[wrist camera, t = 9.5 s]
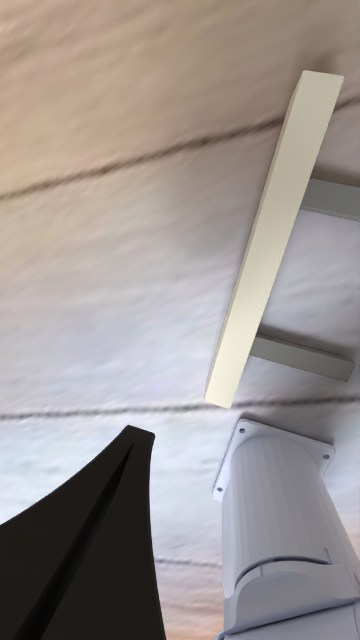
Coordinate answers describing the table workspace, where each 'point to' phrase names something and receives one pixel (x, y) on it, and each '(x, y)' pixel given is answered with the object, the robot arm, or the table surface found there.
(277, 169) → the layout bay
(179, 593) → the table surface
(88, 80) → the table surface
